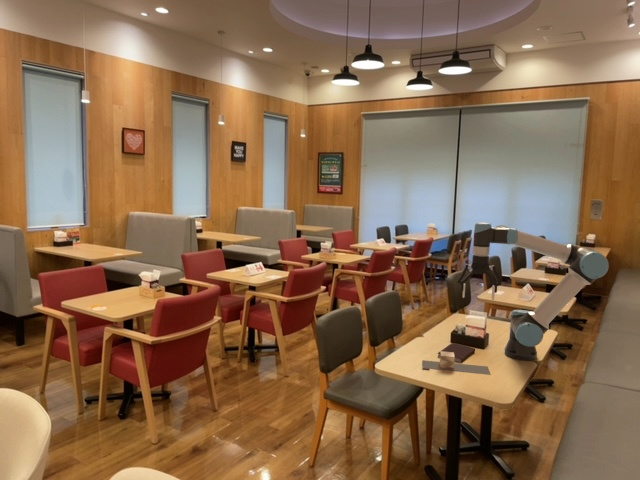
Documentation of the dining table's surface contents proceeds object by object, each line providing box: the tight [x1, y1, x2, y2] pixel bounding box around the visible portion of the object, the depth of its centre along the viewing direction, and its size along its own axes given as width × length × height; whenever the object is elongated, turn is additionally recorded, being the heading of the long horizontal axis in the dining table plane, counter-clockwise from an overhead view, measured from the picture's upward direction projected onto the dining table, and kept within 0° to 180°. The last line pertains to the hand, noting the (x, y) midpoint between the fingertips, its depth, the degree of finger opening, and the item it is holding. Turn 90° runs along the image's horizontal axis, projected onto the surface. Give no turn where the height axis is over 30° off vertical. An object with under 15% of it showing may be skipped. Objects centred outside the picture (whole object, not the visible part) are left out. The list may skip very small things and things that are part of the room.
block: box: [439, 350, 455, 369], centre depth 222 cm, size 6×6×6 cm
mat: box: [422, 360, 492, 376], centre depth 222 cm, size 30×10×1 cm, turn 79°
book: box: [437, 342, 476, 364], centre depth 239 cm, size 12×19×3 cm, turn 143°
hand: (478, 298), depth 231 cm, fingers open, 13 cm apart
